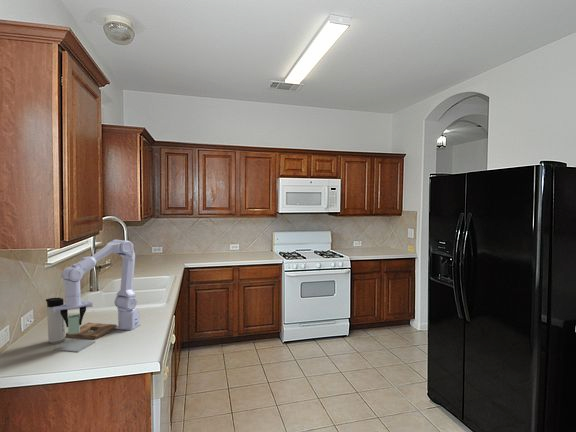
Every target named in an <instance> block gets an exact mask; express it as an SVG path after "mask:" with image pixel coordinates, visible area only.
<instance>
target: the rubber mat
mask: <svg viewBox="0 0 576 432" xmlns="http://www.w3.org/2000/svg"><path fill="white" fill-rule="evenodd" d="M95 343H96V340H86V339H85V340H84V339H74V338H73V339H69V340H68V341H66V342H64V343H62V344H59V345H58V346H56V347H55V348H53V349H52V350H53V351H59V352H61V351H62V352H69V353H70V352H71V353H72V352H73V353H79V352H81V351H83V350H85V349H86V348H88V347H90V346H92V345H94V344H95Z"/></svg>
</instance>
